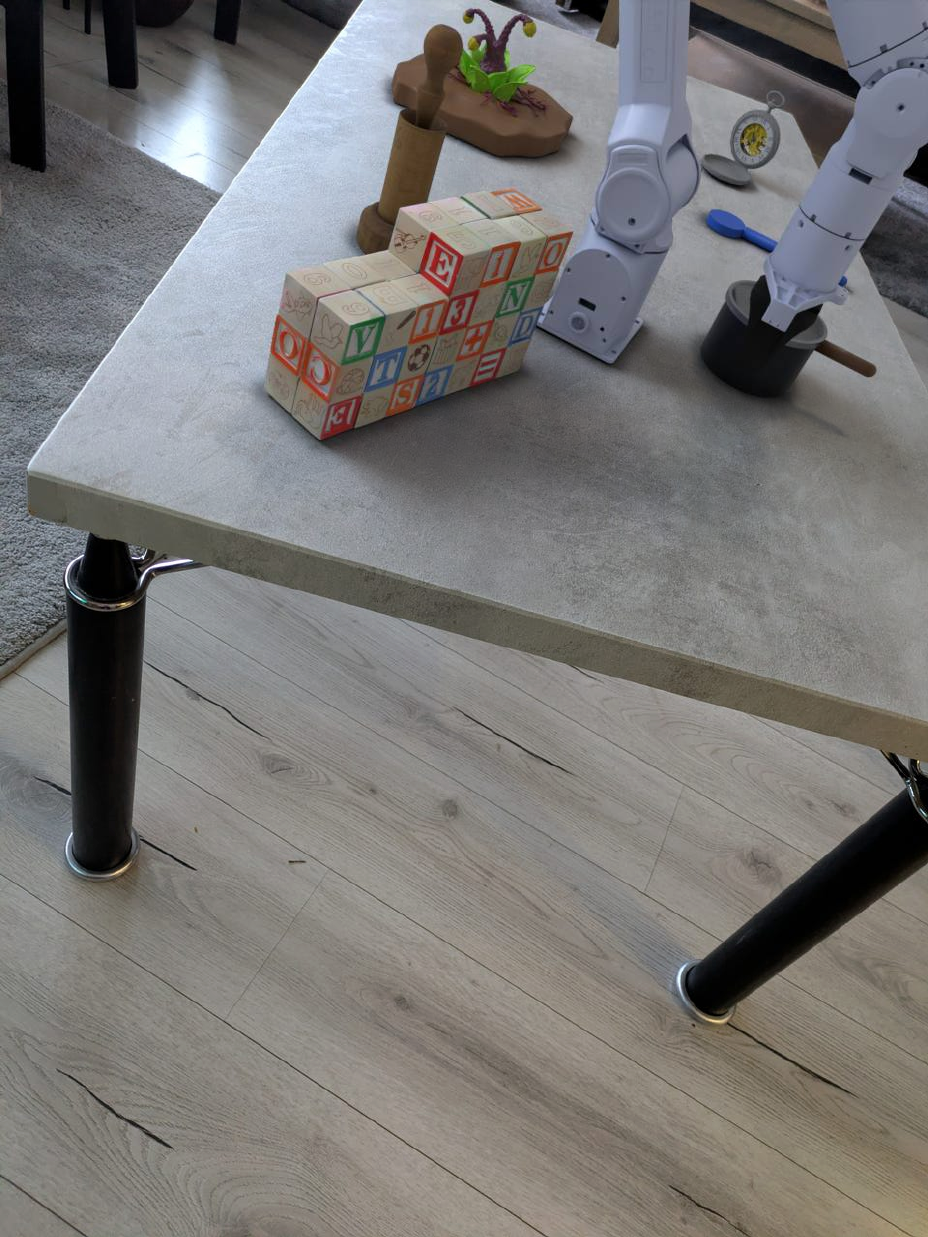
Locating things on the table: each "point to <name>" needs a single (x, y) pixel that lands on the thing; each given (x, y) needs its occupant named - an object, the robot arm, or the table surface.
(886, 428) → the table surface
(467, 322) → the stack of blocks
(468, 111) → the plant
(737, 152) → the pocket watch
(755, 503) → the table surface
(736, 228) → the spoon
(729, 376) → the pot
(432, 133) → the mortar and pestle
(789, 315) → the robot arm
